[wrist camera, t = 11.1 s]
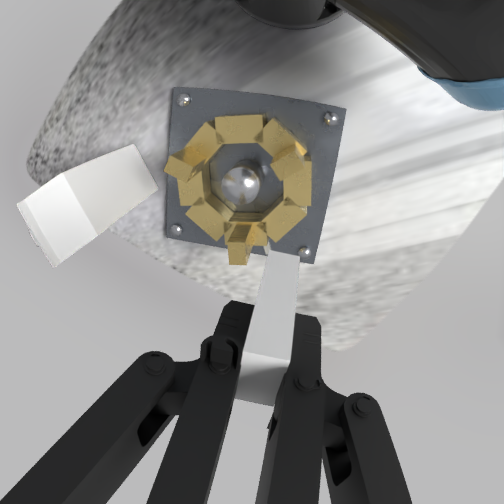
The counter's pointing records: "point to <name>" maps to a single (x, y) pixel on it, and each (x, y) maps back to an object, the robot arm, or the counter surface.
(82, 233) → the milk carton
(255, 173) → the flange plate
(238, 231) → the gold foil sensor mount
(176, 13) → the counter surface
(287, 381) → the robot arm
